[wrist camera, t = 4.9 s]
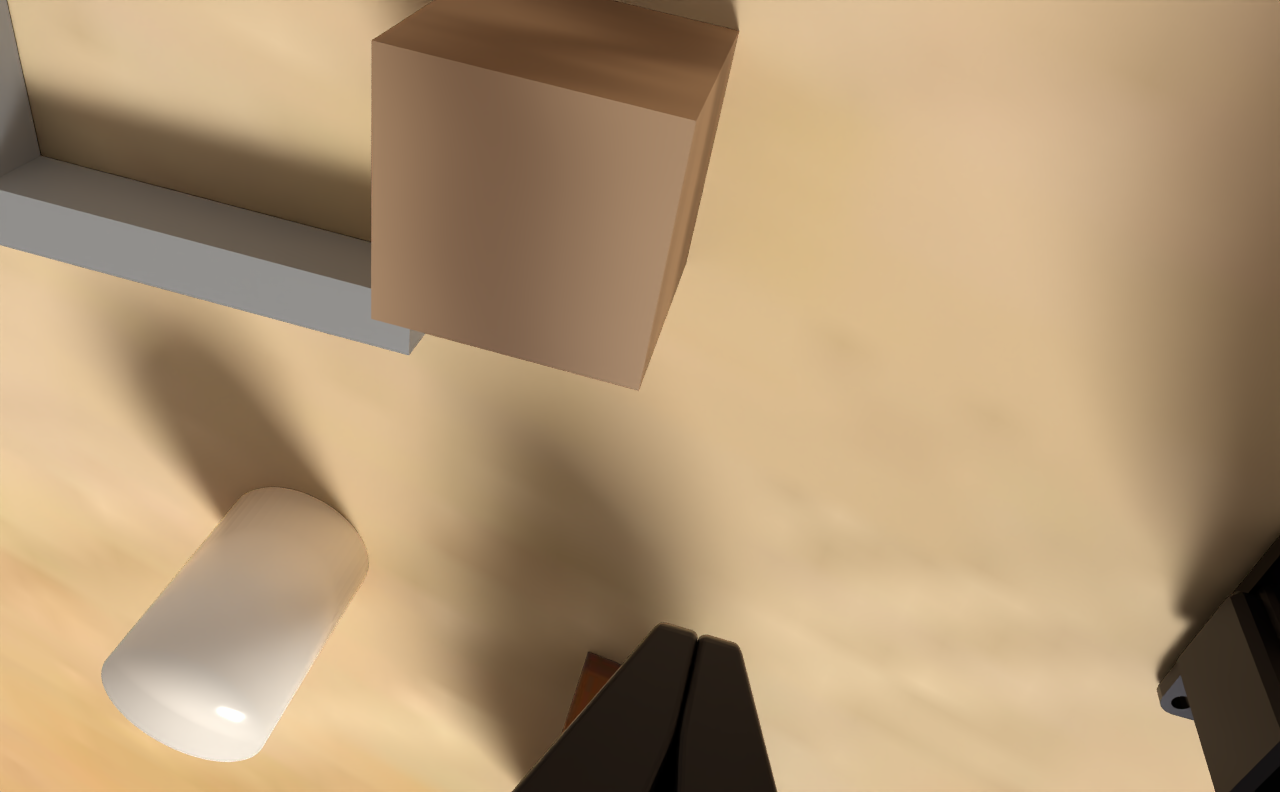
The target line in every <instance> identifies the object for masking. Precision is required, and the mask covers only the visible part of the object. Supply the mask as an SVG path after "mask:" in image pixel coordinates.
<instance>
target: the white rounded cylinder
mask: <svg viewBox="0 0 1280 792" xmlns="http://www.w3.org/2000/svg"><path fill="white" fill-rule="evenodd" d="M368 566H369V560H368V554H367V550H366V547H365V545H364V542H363V541H362V539H361V537H360V535H359V534H358V532H357V531H356V530H355V528H354V527H353V526H352V525H351V524H350V523H349V522H348V520H346V519H345V518H344V517H343V516H342V515H341V514H340V513H339V512H337V511H336V510H335V509H333V508H332V507H330V506H329V505H327V504H326V503H324V502H322V501H321V500H319V499H317V498H315V497H313V496H310V495H308V494H306V493H302V492H299V491H296V490H292V489H288V488H281V487H264V488H258V489H254V490H252V491H250V492H247V493H246V494H244V495H243V496H241V497H240V498H239V499H238V500H237V502H236V503H235V504H234V505H233V507H232V508H231V509H230V510H229V511H228V513H227V514H226V515H225V516H224V517H223V519H222V520H221V521H220V522H219V523H218V525H217V526H216V527H215V528H214V530H213V531H212V532H211V533H210V534H209V536H208V537H207V538H206V539H205V540H204V542H203V543H202V544H201V545H200V547H199V548H198V549H197V550H196V551H195V553H194V554H193V555H192V556H191V557H190V559H189V560H188V561H187V562H186V563H185V565H184V566H183V567H182V568H181V570H180V571H179V572H178V573H177V574H176V576H175V577H174V578H173V579H172V580H171V582H170V583H169V584H168V585H167V586H166V588H165V589H164V590H163V591H162V593H161V594H160V595H159V596H158V597H157V599H156V600H155V601H154V602H153V603H152V605H151V606H150V607H149V608H148V610H147V611H146V612H145V613H144V614H143V616H142V617H141V618H140V619H139V620H138V622H137V623H136V624H135V625H134V626H133V628H132V629H131V630H130V631H129V633H128V634H127V635H126V636H125V637H124V639H123V640H122V641H121V642H120V643H119V645H118V646H117V647H116V648H115V650H114V651H113V652H112V653H111V654H110V656H109V657H108V658H107V659H106V661H105V662H104V664H103V667H102V673H101V677H102V683H103V686H104V688H105V691H106V693H107V695H108V696H109V698H110V700H111V701H112V702H113V704H114V705H115V706H116V708H117V709H118V710H119V711H120V712H121V713H122V714H123V715H124V716H125V717H126V718H127V719H128V720H129V721H130V722H131V723H133V724H134V725H135V726H136V727H138V728H139V729H140V730H142V731H143V732H144V733H146V734H147V735H149V736H150V737H152V738H154V739H155V740H157V741H159V742H161V743H162V744H164V745H167V746H169V747H171V748H173V749H175V750H177V751H180V752H182V753H185V754H188V755H191V756H194V757H198V758H202V759H206V760H212V761H220V762H234V761H241V760H245V759H248V758H251V757H253V756H254V755H256V754H257V753H258V752H259V751H260V750H261V749H262V747H263V746H264V744H265V742H266V741H267V739H268V737H269V736H270V734H271V732H272V731H273V729H274V728H275V726H276V724H277V723H278V721H279V719H280V718H281V716H282V714H283V713H284V711H285V709H286V708H287V706H288V704H289V703H290V701H291V699H292V698H293V696H294V694H295V693H296V691H297V690H298V688H299V686H300V685H301V683H302V681H303V680H304V678H305V676H306V675H307V673H308V671H309V670H310V668H311V666H312V665H313V663H314V661H315V660H316V658H317V656H318V655H319V653H320V651H321V650H322V648H323V647H324V645H325V643H326V642H327V640H328V638H329V637H330V635H331V633H332V632H333V630H334V628H335V627H336V625H337V623H338V622H339V620H340V618H341V617H342V615H343V613H344V612H345V610H346V609H347V607H348V605H349V604H350V602H351V600H352V599H353V597H354V595H355V594H356V592H357V590H358V589H359V587H360V585H361V584H362V582H363V580H364V579H365V577H366V575H367V572H368Z"/></svg>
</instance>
